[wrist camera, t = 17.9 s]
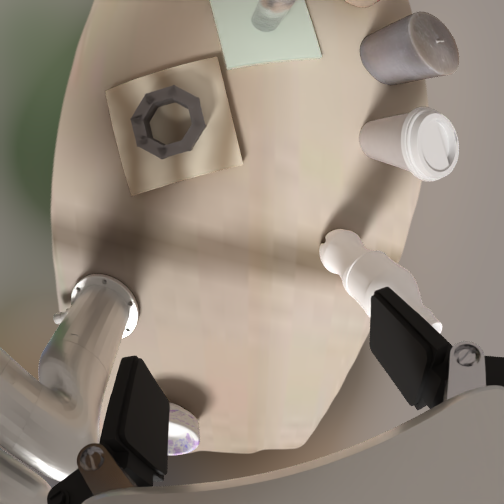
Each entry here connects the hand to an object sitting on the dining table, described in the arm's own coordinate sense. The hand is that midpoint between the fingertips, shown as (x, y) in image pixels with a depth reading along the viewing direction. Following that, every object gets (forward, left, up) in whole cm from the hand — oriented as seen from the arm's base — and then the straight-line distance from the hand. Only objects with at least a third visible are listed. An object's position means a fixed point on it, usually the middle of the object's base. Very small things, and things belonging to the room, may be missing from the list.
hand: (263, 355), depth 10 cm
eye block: (-4, +12, -32) cm, 35 cm away
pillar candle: (+31, +18, -32) cm, 48 cm away
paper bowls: (-25, -42, -33) cm, 59 cm away
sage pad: (+12, +25, -32) cm, 43 cm away
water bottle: (+16, -12, -32) cm, 38 cm away
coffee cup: (+26, +4, -32) cm, 42 cm away
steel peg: (+12, +25, -31) cm, 42 cm away
